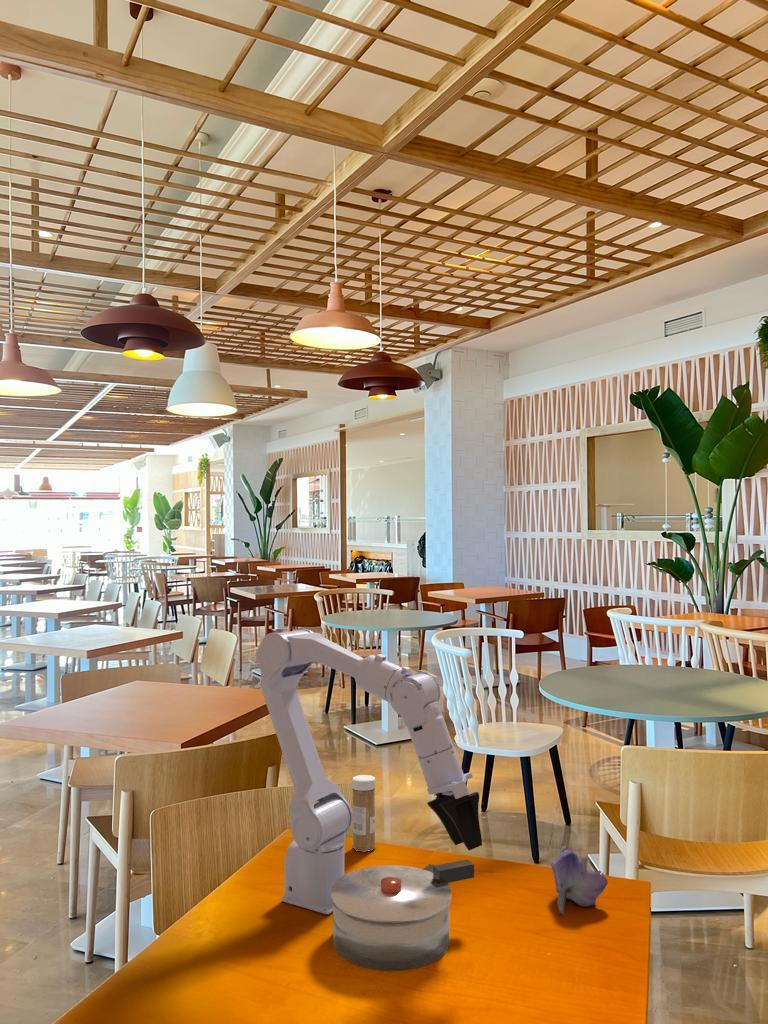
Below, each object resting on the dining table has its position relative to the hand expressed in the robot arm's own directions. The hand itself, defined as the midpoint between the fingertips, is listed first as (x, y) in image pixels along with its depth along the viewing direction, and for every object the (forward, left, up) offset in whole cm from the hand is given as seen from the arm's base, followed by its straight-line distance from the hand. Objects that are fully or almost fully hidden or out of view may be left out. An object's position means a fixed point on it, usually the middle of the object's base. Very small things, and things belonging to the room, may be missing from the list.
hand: (468, 845), depth 109 cm
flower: (+10, +19, -14) cm, 26 cm away
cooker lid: (-9, -3, -8) cm, 12 cm away
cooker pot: (-10, -2, -14) cm, 17 cm away
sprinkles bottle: (-32, +22, -14) cm, 41 cm away
